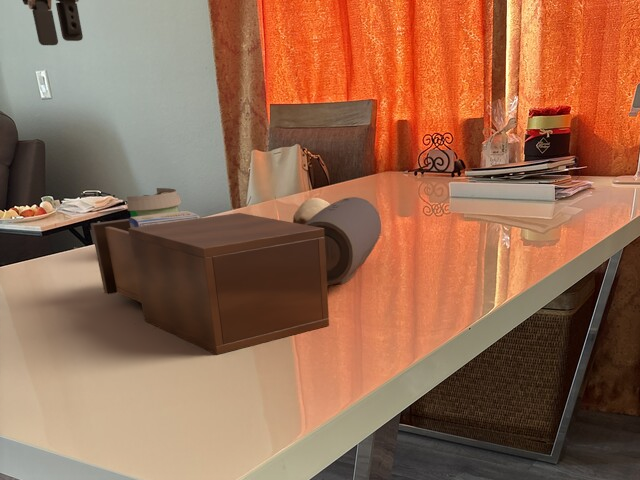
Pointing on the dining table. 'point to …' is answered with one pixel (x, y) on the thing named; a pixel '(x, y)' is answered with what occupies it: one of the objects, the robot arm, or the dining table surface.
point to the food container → (154, 203)
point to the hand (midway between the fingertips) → (60, 43)
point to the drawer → (116, 258)
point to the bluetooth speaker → (347, 236)
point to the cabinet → (231, 279)
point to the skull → (309, 210)
